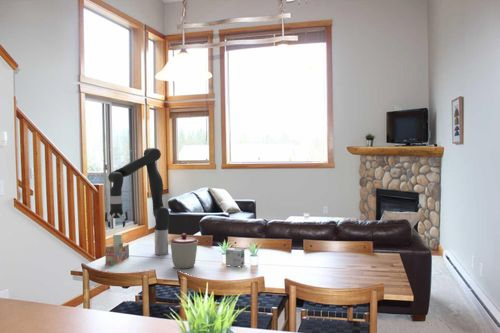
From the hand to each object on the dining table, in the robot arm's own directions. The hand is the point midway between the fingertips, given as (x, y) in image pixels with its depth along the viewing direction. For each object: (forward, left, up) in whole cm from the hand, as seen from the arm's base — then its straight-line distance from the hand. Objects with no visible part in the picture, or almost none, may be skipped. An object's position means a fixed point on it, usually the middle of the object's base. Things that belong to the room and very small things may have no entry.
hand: (116, 227), depth 280 cm
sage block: (0, -1, -11) cm, 11 cm away
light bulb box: (-74, +25, -23) cm, 81 cm away
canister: (-42, +21, -23) cm, 52 cm away
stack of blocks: (0, -3, -23) cm, 23 cm away
